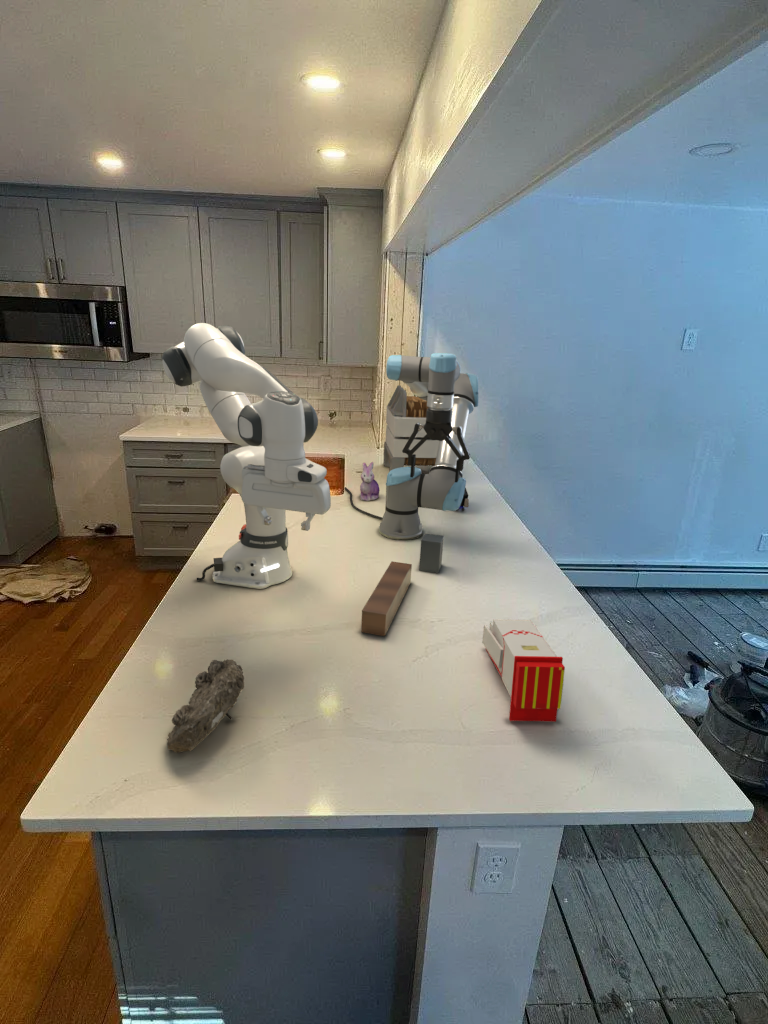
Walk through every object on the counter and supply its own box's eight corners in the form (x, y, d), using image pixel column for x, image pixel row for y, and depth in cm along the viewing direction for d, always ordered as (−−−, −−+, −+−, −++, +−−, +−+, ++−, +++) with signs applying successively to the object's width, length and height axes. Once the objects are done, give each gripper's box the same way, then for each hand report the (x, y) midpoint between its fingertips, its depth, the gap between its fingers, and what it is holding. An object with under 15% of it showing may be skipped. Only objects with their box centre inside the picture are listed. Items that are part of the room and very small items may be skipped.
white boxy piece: (382, 463, 289) (386, 382, 275) (445, 464, 293) (451, 384, 279) (390, 482, 257) (394, 392, 243) (460, 483, 261) (468, 394, 247)
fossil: (192, 660, 117) (244, 628, 112) (224, 691, 120) (276, 661, 115) (142, 746, 98) (202, 712, 93) (182, 779, 101) (242, 748, 96)
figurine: (364, 502, 230) (365, 466, 225) (353, 495, 238) (354, 460, 233) (384, 500, 234) (386, 464, 229) (373, 492, 242) (375, 458, 237)
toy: (529, 604, 135) (573, 663, 106) (524, 656, 138) (566, 727, 109) (478, 603, 135) (509, 662, 105) (474, 655, 137) (503, 727, 108)
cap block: (422, 562, 178) (424, 532, 175) (441, 565, 177) (443, 535, 174) (418, 570, 173) (421, 540, 169) (438, 573, 171) (440, 542, 168)
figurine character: (468, 516, 224) (463, 500, 237) (471, 498, 221) (465, 483, 234) (452, 515, 224) (447, 499, 237) (453, 498, 220) (449, 482, 234)
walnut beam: (390, 579, 166) (391, 561, 164) (410, 582, 165) (411, 564, 163) (361, 632, 138) (361, 610, 136) (384, 636, 137) (386, 614, 135)
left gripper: (234, 466, 123) (237, 525, 128) (323, 476, 119) (323, 537, 123) (248, 459, 129) (250, 516, 134) (333, 469, 124) (332, 527, 129)
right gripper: (394, 406, 164) (391, 477, 171) (481, 414, 158) (474, 486, 166) (400, 403, 171) (397, 471, 178) (483, 410, 165) (476, 479, 173)
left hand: (286, 527), depth 128 cm, fingers open, 8 cm apart
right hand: (434, 478), depth 172 cm, fingers open, 13 cm apart
